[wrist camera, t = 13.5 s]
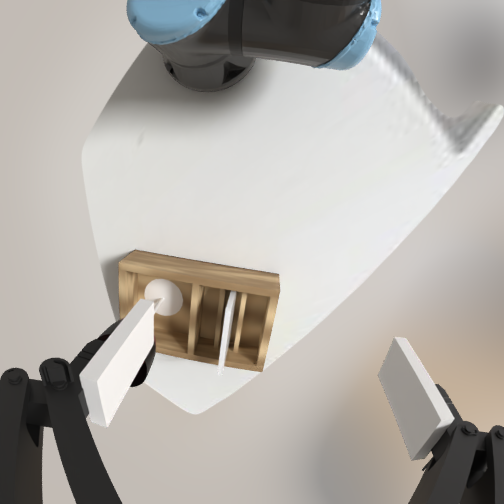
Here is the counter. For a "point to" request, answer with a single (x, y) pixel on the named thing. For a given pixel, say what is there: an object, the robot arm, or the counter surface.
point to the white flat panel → (226, 331)
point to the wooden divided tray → (205, 307)
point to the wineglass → (164, 304)
